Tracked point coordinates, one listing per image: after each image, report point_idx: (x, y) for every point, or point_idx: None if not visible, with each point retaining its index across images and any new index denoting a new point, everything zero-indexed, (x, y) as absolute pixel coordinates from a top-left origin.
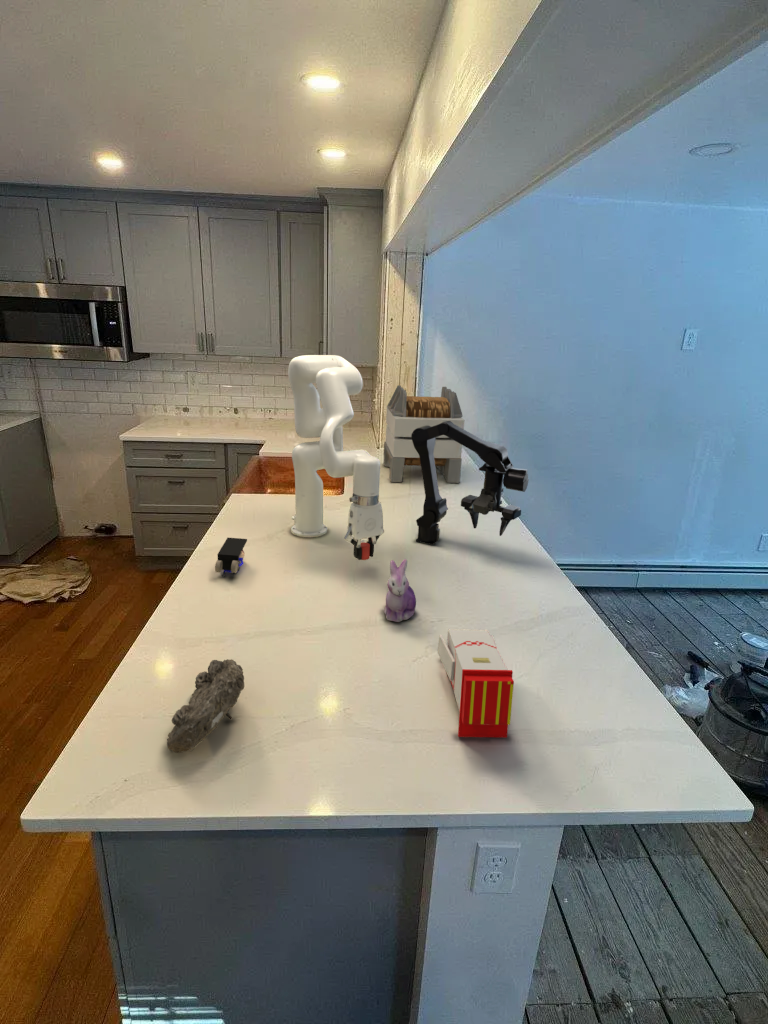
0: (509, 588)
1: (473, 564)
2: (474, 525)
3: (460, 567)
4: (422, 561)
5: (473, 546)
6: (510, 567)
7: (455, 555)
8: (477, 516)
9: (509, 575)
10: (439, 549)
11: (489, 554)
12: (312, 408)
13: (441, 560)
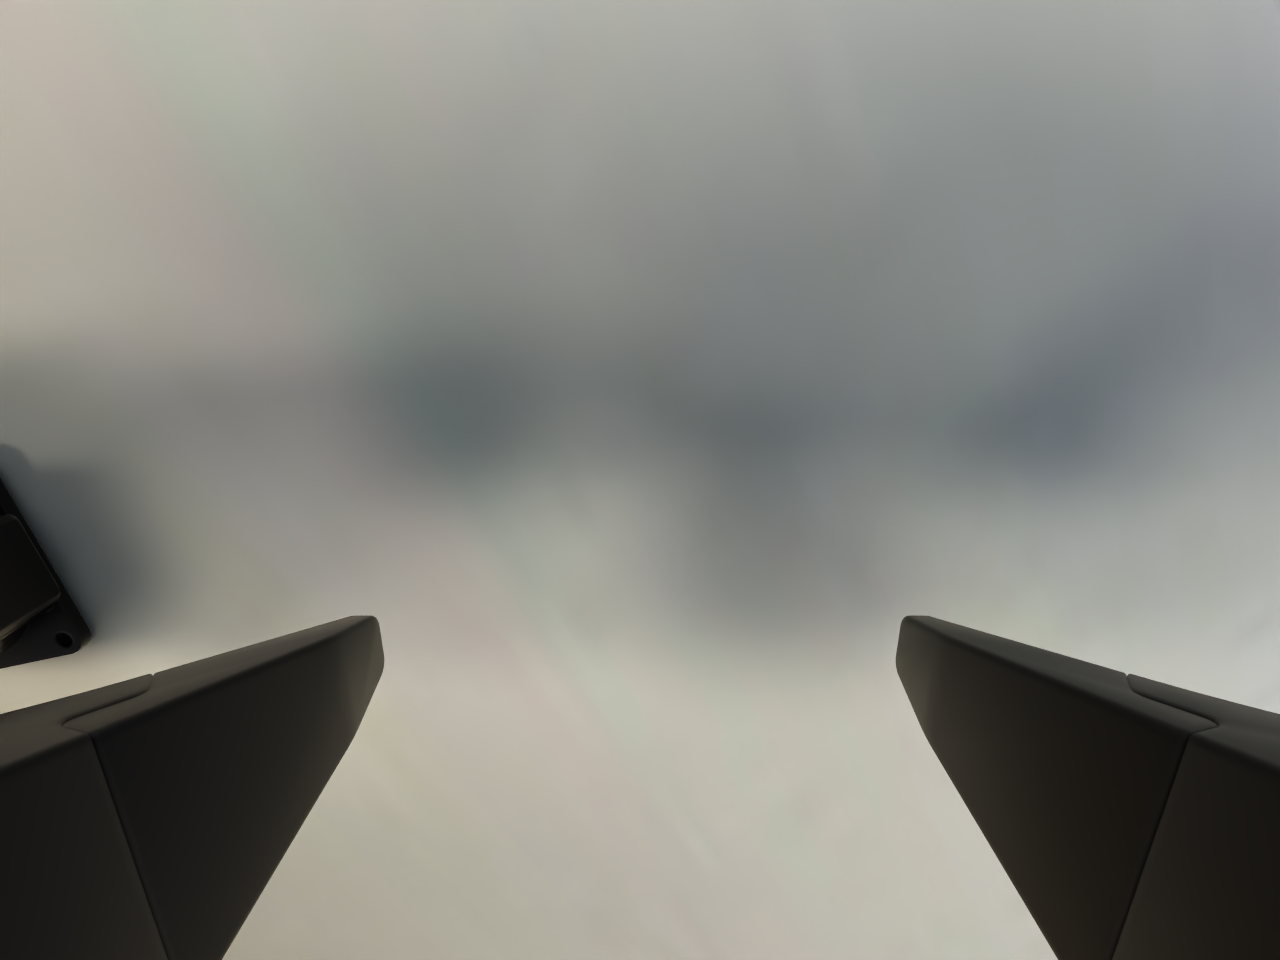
0: None
1: (663, 740)
2: (353, 724)
3: (605, 847)
4: (309, 933)
5: (405, 350)
6: (992, 580)
7: (420, 686)
8: (223, 750)
9: None
10: None
11: (674, 434)
12: None
13: (402, 838)
